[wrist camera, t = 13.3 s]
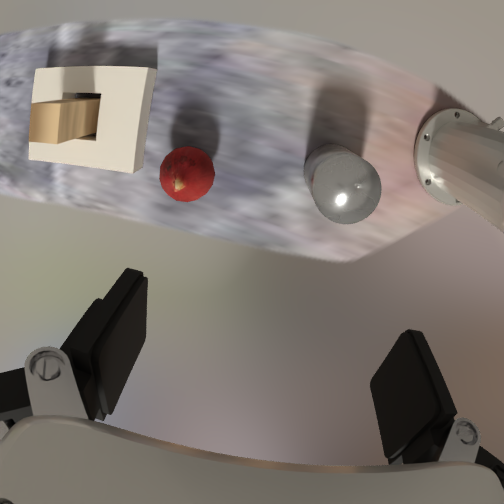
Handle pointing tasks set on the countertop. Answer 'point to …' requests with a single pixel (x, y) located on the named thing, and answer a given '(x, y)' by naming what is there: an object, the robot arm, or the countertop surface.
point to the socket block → (100, 115)
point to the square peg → (63, 119)
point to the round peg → (342, 184)
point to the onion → (186, 174)
